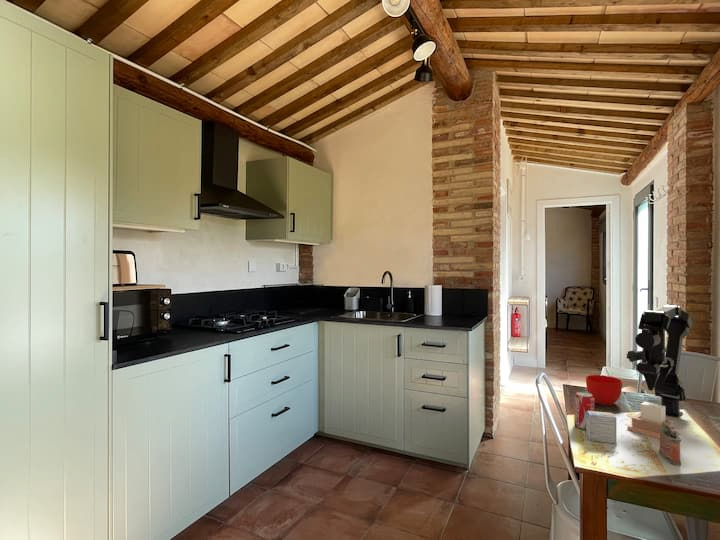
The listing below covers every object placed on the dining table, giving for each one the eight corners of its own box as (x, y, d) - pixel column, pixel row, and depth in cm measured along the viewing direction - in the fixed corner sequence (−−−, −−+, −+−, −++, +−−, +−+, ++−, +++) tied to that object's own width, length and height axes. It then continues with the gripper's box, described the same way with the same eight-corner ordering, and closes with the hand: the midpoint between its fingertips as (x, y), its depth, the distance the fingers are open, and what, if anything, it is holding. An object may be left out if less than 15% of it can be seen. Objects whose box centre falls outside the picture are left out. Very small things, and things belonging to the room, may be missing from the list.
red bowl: (611, 395, 174) (611, 373, 174) (627, 409, 157) (627, 384, 157) (578, 394, 177) (578, 371, 177) (592, 407, 160) (591, 382, 160)
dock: (638, 422, 144) (638, 411, 144) (679, 433, 135) (679, 421, 135) (627, 429, 138) (627, 417, 138) (669, 441, 129) (669, 428, 129)
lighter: (684, 466, 113) (684, 431, 113) (670, 465, 114) (670, 430, 113) (668, 453, 121) (668, 420, 121) (655, 452, 121) (655, 420, 121)
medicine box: (613, 438, 131) (612, 412, 131) (616, 444, 127) (616, 417, 127) (586, 435, 134) (586, 410, 134) (589, 441, 130) (589, 414, 130)
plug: (644, 423, 140) (644, 401, 140) (665, 429, 135) (665, 406, 135) (640, 426, 138) (640, 403, 138) (661, 432, 133) (661, 408, 133)
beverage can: (570, 424, 143) (570, 391, 143) (586, 423, 144) (586, 390, 144) (581, 431, 137) (581, 397, 137) (598, 430, 138) (598, 396, 138)
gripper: (639, 339, 155) (639, 378, 155) (619, 344, 144) (619, 387, 144) (674, 343, 146) (674, 385, 146) (656, 350, 135) (656, 395, 135)
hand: (655, 387), depth 143 cm, fingers open, 9 cm apart
